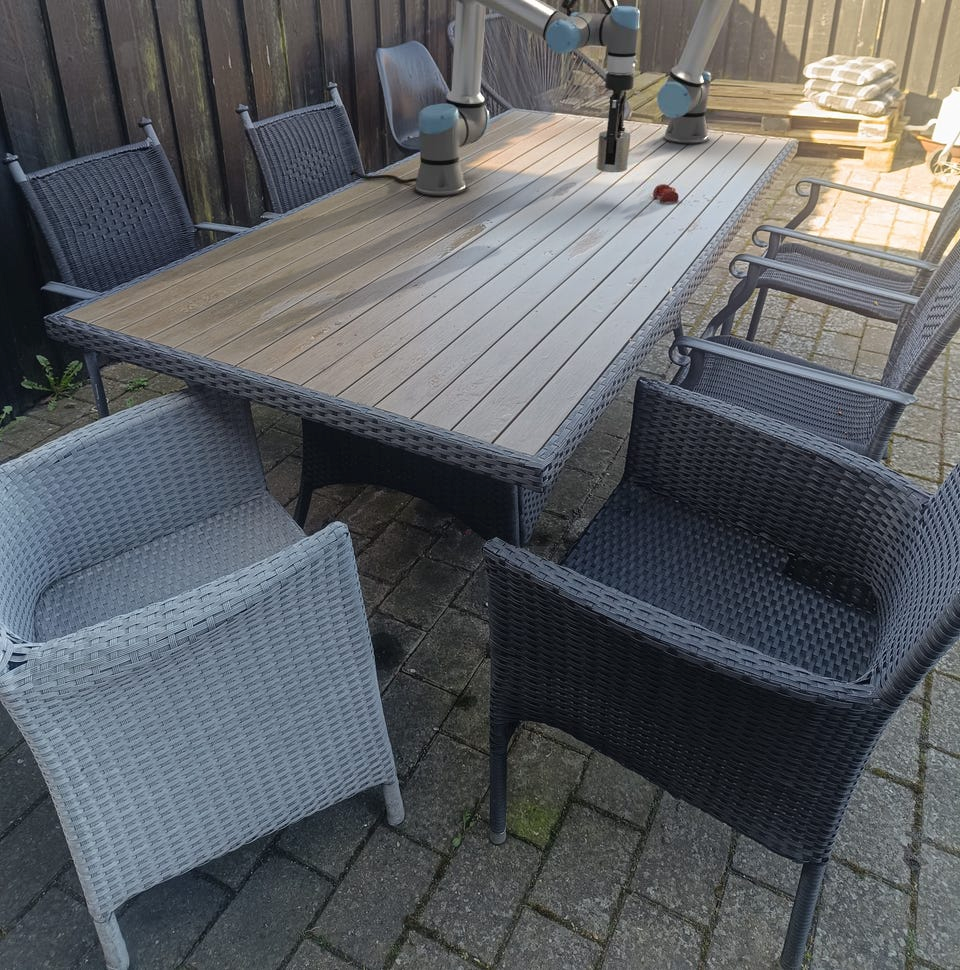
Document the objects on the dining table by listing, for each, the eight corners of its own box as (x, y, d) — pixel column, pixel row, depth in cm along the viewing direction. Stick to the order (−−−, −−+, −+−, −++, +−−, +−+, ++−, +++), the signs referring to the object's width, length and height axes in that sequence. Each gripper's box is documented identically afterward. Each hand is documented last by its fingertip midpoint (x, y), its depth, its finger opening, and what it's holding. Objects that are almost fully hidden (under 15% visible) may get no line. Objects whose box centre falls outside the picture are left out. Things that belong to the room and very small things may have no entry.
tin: (607, 174, 236) (610, 139, 230) (590, 166, 242) (593, 132, 237) (633, 170, 239) (636, 136, 234) (615, 162, 245) (618, 129, 240)
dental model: (669, 180, 251) (681, 188, 245) (668, 194, 254) (679, 202, 248) (652, 182, 250) (663, 190, 244) (650, 196, 253) (662, 204, 247)
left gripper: (628, 80, 217) (620, 171, 230) (639, 66, 233) (630, 151, 247) (599, 79, 218) (592, 169, 232) (612, 65, 235) (605, 149, 248)
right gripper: (554, -40, 285) (551, 31, 298) (623, -37, 275) (617, 36, 288) (563, -41, 291) (560, 28, 303) (631, -38, 281) (625, 33, 293)
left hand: (612, 159), depth 239 cm, fingers closed on tin, 9 cm apart
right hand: (588, 32), depth 295 cm, fingers open, 13 cm apart
